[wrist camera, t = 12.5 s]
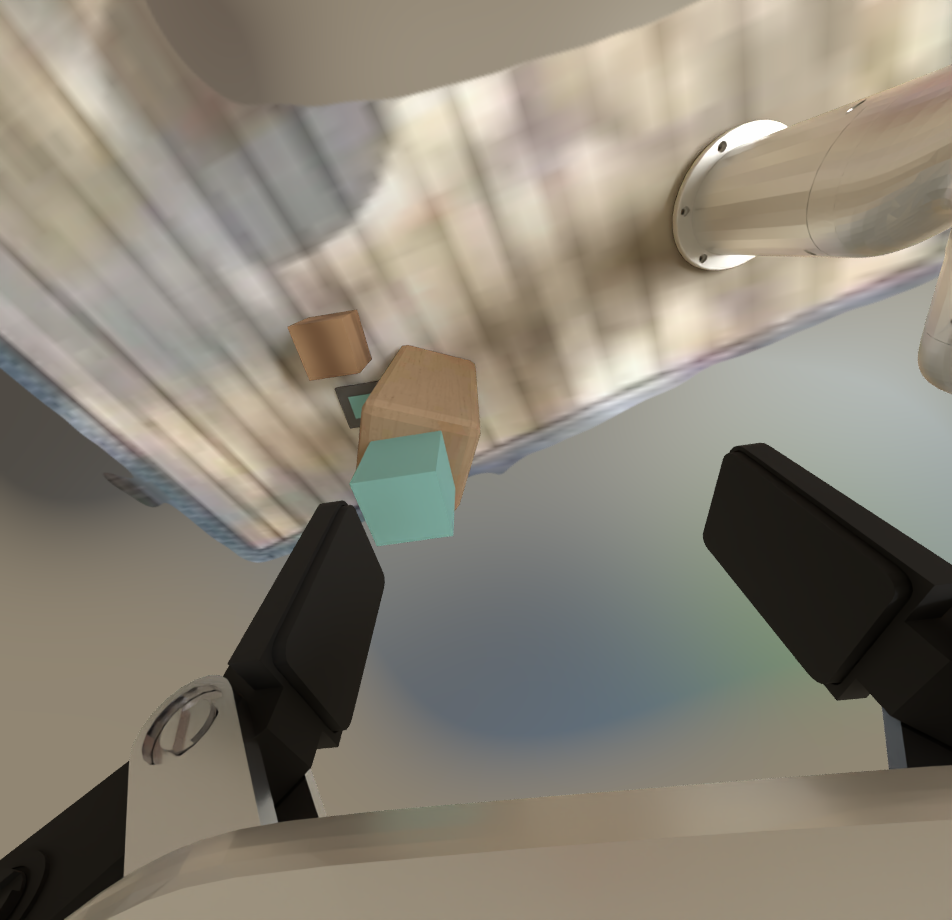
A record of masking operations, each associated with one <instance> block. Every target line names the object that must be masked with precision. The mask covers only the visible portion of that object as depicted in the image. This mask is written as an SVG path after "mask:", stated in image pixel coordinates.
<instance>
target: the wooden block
mask: <svg viewBox="0 0 952 920" xmlns="http://www.w3.org/2000/svg"><path fill="white" fill-rule="evenodd" d="M435 431H442V435H443V439H444V444H445V448H446V452H447V456H448V460H449V464H450V469H451V473H452V477H453V481H454V485H455V508H454V511H455V510H456V509H457V507H458V506H459V505H460V501H461V498H462V495H463V491H464V488H465V484H466V481H467V478H468V474H469V471H470V468H471V464H472V461H473V457H474V454H475V451H476V447H477V444H478V440H479V437H480V434H481V433H480V420H479V406H478V393H477V380H476V368H475V364H474V363H472V362H471V361H469V360H465V359H461V358H457V357H453V356H449V355H445V354H441V353H437V352H433V351H429V350H425V349H421V348H417V347H413V346H409V345H406V346H402V347H401V348H400V350H399V351H398V353H397V354H396V356H395V358H394V359H393V361H392V362H391V364H390V365H389V367H388V368H387V370H386V371H385V373H384V374H383V376H382V377H381V379H380V380H379V382H378V383H377V385H376V386H375V388H374V389H373V391H372V392H371V394H370V395H369V397H368V398H367V400H366V401H365V403H364V405H363V406H362V410H361V422H360V433H359V444H358V455H357V466H356V470H357V468H358V466H359V464H360V462H361V460H362V458H363V456H364V453H365V451H366V449H367V447H368V445H369V443H370V442H371V441H377V440H384V439H390V438H397V437H403V436H409V435H416V434H422V433H429V432H435Z"/></svg>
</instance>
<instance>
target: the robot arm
mask: <svg viewBox="0 0 952 920" xmlns="http://www.w3.org/2000/svg"><path fill="white" fill-rule="evenodd" d="M718 147H719V150H718ZM681 210H683V213H682V214H681ZM949 228H951V231H950V235H949V239H948V243H947V246H946V249H945V254H946V255H945V258H944V261H943V265H942V268H941V271H940V275H939V278H938V281H937V285H936V288H935V291H934V295H933V298H932V301H931V305H930V308H929V311H928V314H927V318H926V321H925V326H924V330H923V333H922V337H921V341H920V346H919V351H918V365H919V369H920V371H921V373H922V375H923V376H924V377H925V379H926V380H927V381H928V382H929V383H931V384H932V385H934V386H935V387H937V388H938V389H940V390H943V391H945V392H947V393H950V394H952V64H951V65H949V66H947V67H944V68H942V69H939V70H936V71H934V72H931V73H929V74H926V75H923V76H921V77H918V78H915V79H913V80H910V81H908V82H905V83H902V84H900V85H898V86H895V87H892V88H890V89H887V90H884V91H882V92H879V93H876V94H874V95H871V96H868V97H866V98H863V99H860V100H858V101H855V102H853V103H850V104H847V105H845V106H842V107H839V108H837V109H834V110H831V111H829V112H826V113H823V114H821V115H818V116H816V117H813V118H810V119H808V120H805V121H802V122H800V123H797V124H794V125H792V126H789V127H788V126H786V125H785V124H783V123H781V122H779V121H775V120H770V119H762V120H753V121H750V122H747V123H744V124H741V125H739V126H737V127H735V128H732V129H730V130H729V131H727V132H726V133H724V134H722V135H721V136H719V137H718V138H717V139H715V140H714V141H713V142H712V143H711V144H710V145H709V146H708V147H707V148H705V150H704V151H703V152H702V153H701V154H700V155H699V157H698V158H697V159H696V160H695V162H694V163H693V165H692V166H691V168H690V169H689V171H688V172H687V174H686V176H685V178H684V180H683V182H682V184H681V187H680V189H679V192H678V195H677V198H676V201H675V206H674V212H673V234H674V240H675V243H676V245H677V248H678V250H679V252H680V253H681V255H682V256H683V257H684V259H685V260H687V261H688V262H689V263H690V264H691V265H693V266H696V267H698V268H700V269H706V270H725V269H731V268H733V267H736V266H739V265H742V264H743V263H745V262H747V261H749V260H751V259H752V258H754V257H755V256H795V257H836V258H841V257H842V258H865V257H875V256H880V255H885V254H890V253H893V252H896V251H899V250H902V249H905V248H908V247H911V246H914V245H916V244H918V243H921V242H923V241H925V240H927V239H929V238H931V237H933V236H935V235H937V234H939V233H941V232H943V231H945V230H947V229H949ZM699 258H700V260H699ZM703 540H704V543H705V545H706V547H707V548H708V550H709V551H710V552H711V553H712V554H713V556H714V557H715V558H716V559H717V561H718V562H719V563H720V565H721V566H722V567H723V568H724V569H725V571H726V572H727V573H728V575H729V576H730V577H731V578H732V579H733V581H734V582H735V583H736V584H737V586H738V587H739V588H740V589H741V591H742V592H743V593H744V594H745V596H746V597H747V598H748V599H749V601H750V602H751V603H752V604H753V606H754V607H755V608H756V609H757V611H758V612H759V613H760V614H761V616H762V617H763V618H764V619H765V621H766V622H767V623H768V624H769V626H770V627H771V628H772V629H773V631H774V632H775V633H776V634H777V636H778V637H779V638H780V639H781V641H782V642H783V643H784V644H785V646H786V647H787V648H788V649H789V650H790V652H791V653H792V654H793V656H795V658H796V659H797V661H798V662H799V663H800V664H801V665H802V667H803V668H804V669H805V670H806V672H807V673H808V674H809V675H810V676H811V677H812V678H813V679H814V680H816V681H817V682H819V683H821V684H824V685H825V686H826V688H827V689H828V690H829V692H830V693H831V694H832V695H833V696H834V697H835V699H836V700H847V699H859V698H866V697H867V696H868V695H869V694H871V695H872V696H873V697H874V698H875V700H876V701H877V702H878V703H879V704H880V705H881V706H882V712H883V720H884V730H885V739H886V748H887V757H888V765H889V770H878V771H864V772H851V773H838V774H825V775H811V776H799V777H785V778H772V779H759V780H746V781H733V782H721V783H709V784H696V785H685V786H684V785H683V786H671V787H658V788H647V789H634V790H622V791H609V792H597V793H585V794H573V795H561V796H548V797H536V798H525V799H514V800H502V801H490V802H478V803H467V804H455V805H443V806H432V807H420V808H408V809H397V810H385V811H376V812H367V813H357V814H348V815H339V816H330V817H327V814H326V811H325V808H324V805H323V803H322V799H321V797H320V794H319V791H318V788H317V785H316V782H315V779H314V776H313V773H312V771H311V766H312V763H313V760H314V756H315V753H316V750H317V749H321V748H332V747H338V746H339V742H340V738H341V734H342V731H343V730H346V729H347V728H348V727H349V725H350V723H351V720H352V716H353V712H354V708H355V704H356V700H357V696H358V692H359V687H360V684H361V679H362V675H363V671H364V667H365V663H366V659H367V655H368V651H369V647H370V643H371V638H372V634H373V630H374V626H375V622H376V618H377V614H378V610H379V606H380V601H381V598H382V594H383V589H384V583H385V581H384V574H383V572H382V569H381V567H380V564H379V562H378V560H377V558H376V555H375V553H374V551H373V549H372V546H371V544H370V542H369V539H368V537H367V535H366V532H365V530H364V528H363V526H362V523H361V521H360V519H359V517H358V514H357V512H356V510H355V508H354V507H353V506H352V505H348V504H347V503H346V502H345V501H336V502H329V503H322V504H320V505H319V506H318V507H317V509H316V511H315V513H314V514H313V516H312V518H311V520H310V521H309V523H308V525H307V526H306V528H305V530H304V532H303V533H302V535H301V537H300V539H299V540H298V542H297V544H296V546H295V547H294V549H293V551H292V553H291V554H290V556H289V558H288V560H287V561H286V563H285V565H284V566H283V568H282V570H281V572H280V573H279V575H278V577H277V579H276V580H275V582H274V584H273V586H272V587H271V589H270V591H269V592H268V594H267V596H266V598H265V599H264V601H263V603H262V605H261V606H260V608H259V610H258V612H257V613H256V615H255V617H254V618H253V620H252V622H251V624H250V625H249V627H248V629H247V631H246V632H245V634H244V636H243V638H242V639H241V641H240V643H239V645H238V646H237V648H236V650H235V651H234V653H233V655H232V657H231V659H230V660H229V662H228V665H229V667H228V669H227V670H226V672H225V674H224V676H223V677H222V676H220V675H208V676H205V677H202V678H199V679H196V680H194V681H192V682H190V683H189V684H187V685H185V686H183V687H181V688H180V689H179V690H177V691H176V692H175V693H174V694H172V695H171V696H170V697H168V698H167V699H166V700H165V701H164V702H163V703H162V704H161V705H160V706H159V707H158V708H157V709H156V710H155V711H154V712H153V713H152V715H151V716H150V717H149V719H148V720H147V721H146V723H145V724H144V725H143V727H142V728H141V730H140V732H139V734H138V736H137V738H136V739H135V741H134V744H133V746H132V751H131V755H130V759H129V761H128V762H127V763H126V764H124V765H123V766H122V767H120V768H119V769H118V770H116V771H115V772H114V773H113V774H111V775H110V776H109V777H107V778H106V779H105V780H104V781H102V782H101V783H100V784H98V785H97V786H96V787H94V788H93V789H92V790H91V791H89V792H88V793H87V794H85V795H84V796H83V797H82V798H80V799H79V800H78V801H76V802H75V803H74V804H72V805H71V806H70V807H69V808H67V809H66V810H65V811H63V812H62V813H61V814H59V815H58V816H57V817H56V818H54V819H53V820H52V821H51V822H49V823H48V824H47V825H45V826H44V827H43V828H41V829H40V830H39V831H37V832H36V833H35V834H33V835H32V836H31V837H30V838H28V839H27V840H26V841H24V842H23V843H22V844H20V845H19V846H18V847H17V848H15V849H14V850H13V851H11V852H10V853H9V854H7V855H6V856H5V857H4V858H2V859H1V860H0V920H952V565H951V564H950V563H948V562H946V561H945V560H944V559H942V558H940V557H939V556H937V555H936V554H934V553H933V552H931V551H930V550H928V549H927V548H925V547H924V546H922V545H921V544H919V543H917V542H916V541H914V540H913V539H911V538H910V537H908V536H907V535H905V534H904V533H902V532H901V531H899V530H898V529H896V528H895V527H893V526H891V525H890V524H888V523H887V522H885V521H884V520H882V519H881V518H879V517H878V516H876V515H875V514H873V513H872V512H870V511H868V510H867V509H865V508H864V507H862V506H861V505H859V504H858V503H856V502H855V501H853V500H852V499H850V498H848V497H847V496H845V495H844V494H842V493H841V492H839V491H838V490H836V489H835V488H833V487H832V486H830V485H829V484H827V483H826V482H824V481H822V480H821V479H819V478H818V477H816V476H815V475H813V474H812V473H810V472H809V471H807V470H805V469H804V468H803V467H801V466H800V465H798V464H797V463H795V462H793V461H792V460H790V459H789V458H787V457H786V456H784V455H782V454H781V453H780V452H778V451H776V450H775V449H774V448H772V447H770V446H769V445H767V444H765V443H756V444H748V445H741V446H736V447H733V448H732V450H730V453H728V454H726V455H725V456H724V458H723V461H722V465H721V469H720V473H719V476H718V480H717V484H716V487H715V491H714V495H713V498H712V502H711V506H710V510H709V513H708V517H707V521H706V524H705V528H704V532H703Z"/></svg>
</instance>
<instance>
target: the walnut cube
mask: <svg viewBox="0 0 952 920" xmlns="http://www.w3.org/2000/svg"><path fill="white" fill-rule="evenodd" d="M288 330H289V332H290V334H291V337H292V339H293V342H294V344H295V346H296V349H297V351H298V354H299V356H300V359H301V361H302V363H303V366H304V368H305V371H306V373H307V375H308V378H309V380H310V381H311V380H317V379H324V378H330V377H337V376H344V375H350V374H357V373H360V372H361V371H362V370H363V369H364V367H365V366H366V365H367V364H368V363H369V362H370V360H371V359H372V358H371V355H370V352H369V348H368V345H367V342H366V338H365V335H364V332H363V329H362V325H361V322H360V319H359V315H358V312H357V310H352V311H346V312H340V313H334V314H328V315H321V316H315V317H309V318H307V319H305V320H302V321H300V322H298V323H295V324H293V325H291V326H288Z"/></svg>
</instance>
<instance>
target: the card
mask: <svg viewBox="0 0 952 920" xmlns="http://www.w3.org/2000/svg"><path fill="white" fill-rule="evenodd" d="M378 382H379V381H376V382H370V383H363V384H357V385H351V386H344V387H338V388H335V391H336V393H337V396H338V398H339V401H340V404H341V406H342V409H343V411H344V414H345V417H346V419H347V422H348V424H349V427H350V428H356V427H360V422H361V410H362V406H363V405H364V403H365V401H366V400H367V398H368V397H369V395H370V394H371V392H372V391H373V389H374V388H375V386H376V385H377V383H378Z"/></svg>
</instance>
